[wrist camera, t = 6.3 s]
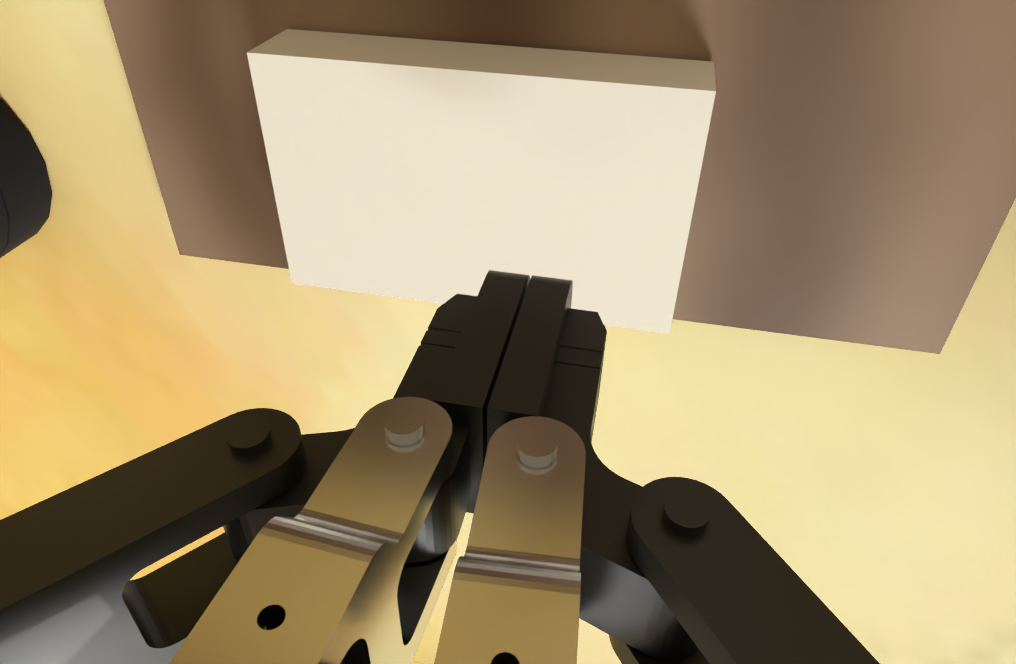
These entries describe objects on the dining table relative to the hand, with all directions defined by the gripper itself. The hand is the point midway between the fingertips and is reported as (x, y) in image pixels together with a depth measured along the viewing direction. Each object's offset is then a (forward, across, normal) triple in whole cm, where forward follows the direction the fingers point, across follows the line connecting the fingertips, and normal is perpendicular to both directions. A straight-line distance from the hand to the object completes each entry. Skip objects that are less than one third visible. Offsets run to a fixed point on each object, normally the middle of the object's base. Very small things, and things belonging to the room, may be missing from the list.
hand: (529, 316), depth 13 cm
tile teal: (+5, -3, 0) cm, 6 cm away
